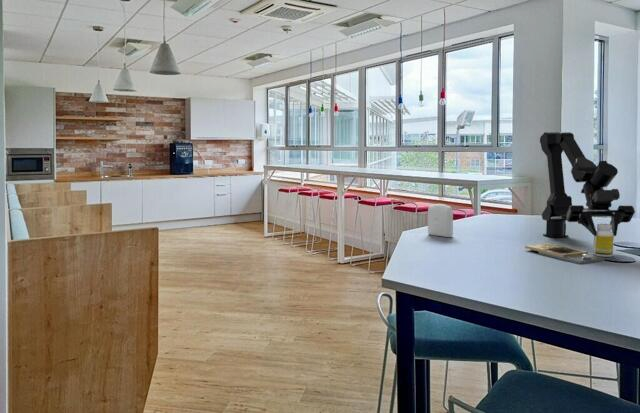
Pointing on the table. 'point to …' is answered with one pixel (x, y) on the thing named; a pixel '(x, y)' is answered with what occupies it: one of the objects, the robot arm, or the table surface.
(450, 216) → the photo printer
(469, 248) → the table surface
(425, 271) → the table surface
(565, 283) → the table surface
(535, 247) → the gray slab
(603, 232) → the supplement bottle
